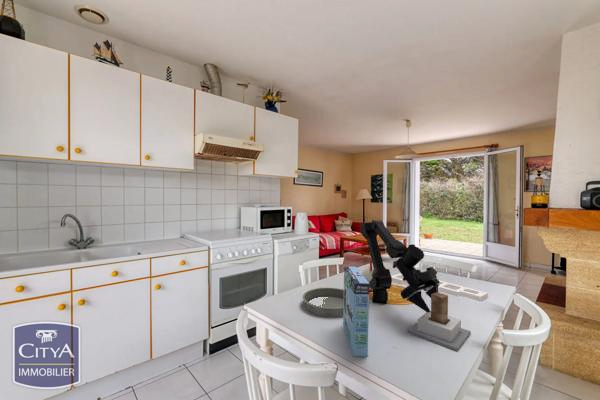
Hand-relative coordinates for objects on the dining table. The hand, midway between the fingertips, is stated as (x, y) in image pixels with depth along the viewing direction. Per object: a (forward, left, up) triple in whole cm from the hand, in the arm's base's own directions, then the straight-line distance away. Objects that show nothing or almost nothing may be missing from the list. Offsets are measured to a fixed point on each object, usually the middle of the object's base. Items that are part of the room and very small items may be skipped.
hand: (435, 309), depth 96 cm
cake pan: (-41, +12, -9) cm, 44 cm away
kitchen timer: (-23, +41, -9) cm, 48 cm away
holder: (+10, +52, -9) cm, 54 cm away
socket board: (+1, -1, -8) cm, 8 cm away
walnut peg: (+1, -1, -7) cm, 7 cm away
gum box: (-28, -14, -9) cm, 33 cm away
